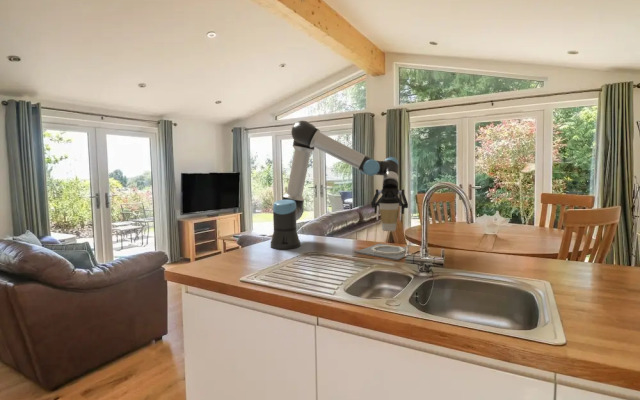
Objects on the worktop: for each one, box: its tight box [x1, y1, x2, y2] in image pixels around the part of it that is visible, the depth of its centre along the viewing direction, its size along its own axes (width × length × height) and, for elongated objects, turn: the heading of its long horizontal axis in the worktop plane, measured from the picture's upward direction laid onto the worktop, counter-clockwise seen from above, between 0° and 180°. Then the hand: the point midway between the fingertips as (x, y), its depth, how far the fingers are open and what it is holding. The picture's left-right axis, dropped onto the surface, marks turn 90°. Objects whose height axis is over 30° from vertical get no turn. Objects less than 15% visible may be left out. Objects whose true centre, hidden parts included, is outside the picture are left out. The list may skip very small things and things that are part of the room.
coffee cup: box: [378, 197, 400, 232], centre depth 164 cm, size 10×10×15 cm
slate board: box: [355, 243, 407, 261], centre depth 166 cm, size 22×22×1 cm
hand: (388, 218), depth 161 cm, fingers closed on coffee cup, 10 cm apart
